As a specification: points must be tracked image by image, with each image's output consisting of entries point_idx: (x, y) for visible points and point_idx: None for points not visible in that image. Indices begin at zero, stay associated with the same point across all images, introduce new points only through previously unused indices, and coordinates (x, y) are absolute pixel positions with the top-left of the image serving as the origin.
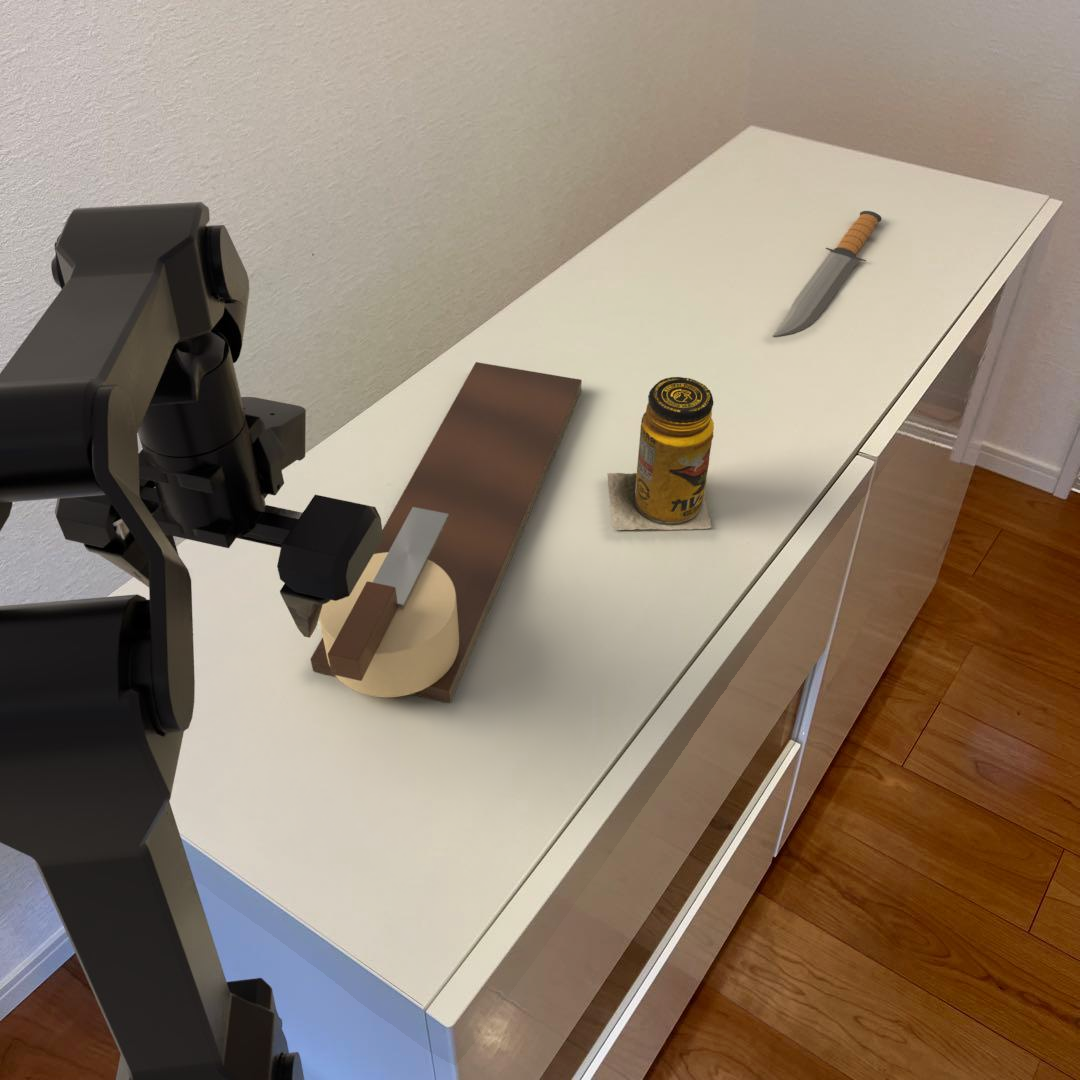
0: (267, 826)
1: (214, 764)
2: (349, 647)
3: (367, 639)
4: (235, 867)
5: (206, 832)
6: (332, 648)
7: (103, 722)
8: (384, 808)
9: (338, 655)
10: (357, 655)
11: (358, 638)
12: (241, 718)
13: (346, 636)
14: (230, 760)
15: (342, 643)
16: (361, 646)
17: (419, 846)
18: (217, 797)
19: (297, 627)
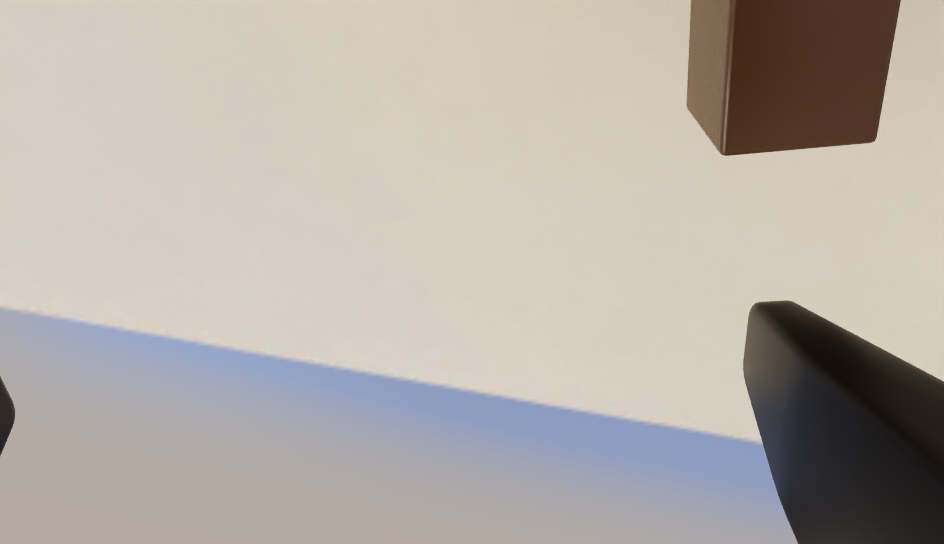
0: (558, 314)
1: (350, 228)
2: (815, 87)
3: (896, 6)
4: (542, 401)
5: (442, 363)
6: (736, 123)
7: None
8: (811, 191)
9: (777, 147)
10: (868, 117)
11: (844, 15)
12: (321, 85)
13: (779, 27)
14: (379, 206)
15: (775, 79)
16: (873, 58)
17: (920, 247)
18: (413, 294)
19: (784, 505)
